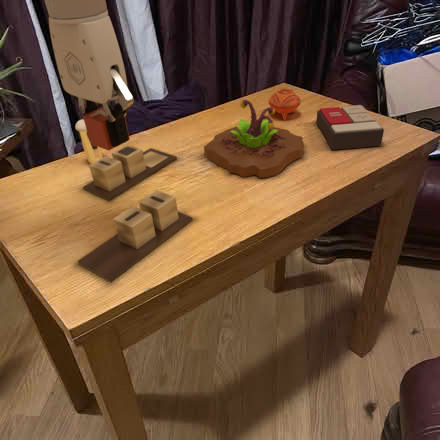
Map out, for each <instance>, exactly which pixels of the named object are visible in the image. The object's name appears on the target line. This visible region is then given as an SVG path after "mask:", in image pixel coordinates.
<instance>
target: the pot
mask: <svg viewBox="0 0 440 440" xmlns="http://www.w3.org/2000/svg"><path fill="white" fill-rule="evenodd" d="M301 104H302V101H301V98H300V96H298V94H296V93H295V92H294V90H293V89H292V88H287V87H283V88H279V89H278V90H277V91H276V92H273V94H272V95H271V96H270V97H269V99H268V105H269V107H272V108H273V109H274V110H275V113H278V114H281V116H282V120H283V121H285V120H286V119H287V116H288V114H291V113H294V111H295V110H297V109H298V108H299V107H300V105H301Z"/></svg>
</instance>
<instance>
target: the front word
mask: <svg viewBox="0 0 440 440" xmlns="http://www.w3.org/2000/svg"><path fill="white" fill-rule="evenodd" d="M138 204H139V207H137V206H132V205H131V206H130V207H129V208H127V209H126V210H125V211H123V212H121V213H119V214H118V215H117V216H115V217H114V218H112V219H113V222H114V226H115V230H116V234H114V235H113V236H112V237H110V238H109V239H108V240H106V241H105V242H103V243H102V244H100V245H99V246H97V247H96V248H94V249H93V250H91V251H90V252H89V253H87V254H85V256H83V257H81V258H80V259H78V260H77V264H78V265H79V266H81V267H82V268H85V269H86V270H88V271H90V272H91V273H94V274H95V275H97V276H99V277H101V278H102V279H104V280H106V281H107V282H109V283H112V282H114V281H115V280H116V279H117V278H119V277H120V276H121V275H122V274H124V273H125V272H127V271H128V270H130V268H132V267H134V265H136V264H137V263H138V262H139V261H142V259H144V258H145V257H146V256H147V255H149V254H150V253H152V252H153V251H154V250H155V249H157V248H158V247H159V246H161V245H162V244H164V242H166V241H167V240H169V239H170V238H171V237H172V236H174V235H175V234H177V233H178V232H179V231H180V230H182V229H183V228H185V227H186V226H187V225H189V223H192V221H193V219H194V218H193V217H192V216H190V215H188V214H185V213H182V212H180V211H178V205H177V198H176V196H173V195H170V194H169V193H166V192H163V191H160V190H158V189H156V190H155V191H152V192H151V193H150V194H148V195H147V196H146V197H144V198H142V199H141V200H139V201H138Z"/></svg>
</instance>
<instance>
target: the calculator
mask: <svg viewBox="0 0 440 440" xmlns="http://www.w3.org/2000/svg"><path fill="white" fill-rule="evenodd" d="M316 111H317V112H316V121H315V122H316V125H317V126H318V128H319V130H320V131H321V132H322V134H323V135H324V137H325V139H326V141H327V145H328V146H329V147H330V149H331V150H332V151H336V150H337V151H338V150H346V149H347V150H348V149H358V148H359V149H360V148H371V147H380V146H382V143H383V137H384V132H385V129H384V127H382V126H381V125H380V124H379V122H378V121H377V120H376V119H375V118H374V116H372V114H371V113H370V112H368V110H367V109H366V108H365V107H364V106H363V105H362V104H357V105H346V106H345V105H343V106H341V107H340V106H332V107H322V108H319V109H318V110H316Z"/></svg>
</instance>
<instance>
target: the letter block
mask: <svg viewBox="0 0 440 440" xmlns="http://www.w3.org/2000/svg"><path fill="white" fill-rule="evenodd" d="M98 108H99V107H98ZM112 109H113V107H112ZM124 117H125V122H126V127H127V131H128V136H129V140H128V141H130V140H131V139H130V134H129V129H128V125H127V120H126V116H124ZM82 119H84V122H85V126H86V130H87V133H88V137H89V140H90V144H92V145H95V146H98V147H100V148H101V149H103V150H105V151H111V150H113V149H115V148H116V147H113V146H112V145H111V141H110V137H109V133H108V129H107V125H106V121H108V118H107V115H106V113H105V110H104V107H103V106H102V107H100V108H99V109H97V110H95V111H93V112H90V113H88V114H86V115H82Z"/></svg>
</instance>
